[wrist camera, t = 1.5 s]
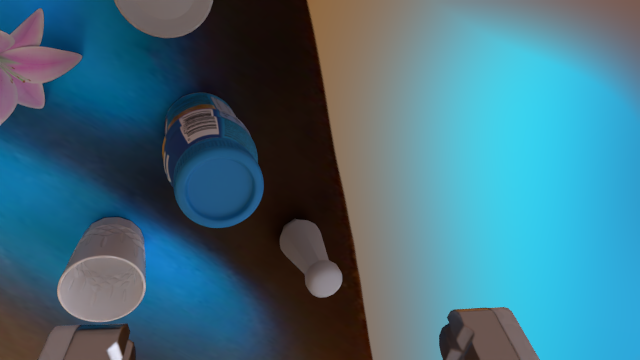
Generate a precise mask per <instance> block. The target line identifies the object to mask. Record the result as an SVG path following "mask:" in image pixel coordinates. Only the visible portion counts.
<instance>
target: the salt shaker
mask: <svg viewBox="0 0 640 360" xmlns="http://www.w3.org/2000/svg"><path fill="white" fill-rule="evenodd" d="M280 248H281V250H282V251H283V253H284V254H285V255H286V256H287V257H288V258H289V259H290V260H291V261H292V262H293V263H294V264H295V265H296V266H297V267H298V268H299V269H300V270H301V271H302V272H303V273H304V274H305V284H306V286H307V288H308V289H309V291H310V292H311V293H312V294H313V295H314V296H317V297H328V296H330V295H332V294H334V293H335V292H336V291H337V290H338V289H339V287H340V285H341V283H342V274H341V271H340V270H339V268H338V266H337V265H336V264H335V263H333V262H331V261H329V260H328V257H327V253H326V250H325V246H324V243H323V240H322V236H321V233H320V231H319V229H318V227H317V226H316V225H315V224H314V223H312V222H310V221H308V220H298V219H294V220H292V221H291V222H289V223H288V224H286V225H284V227H283V231H282V233H281V236H280Z"/></svg>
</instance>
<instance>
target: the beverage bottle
mask: <svg viewBox="0 0 640 360" xmlns="http://www.w3.org/2000/svg"><path fill="white" fill-rule="evenodd" d="M164 129H165V138H164V141H163V147H162V155H163V161H164V169H165V173H166V176H167V178H168V180H169V182H170V184H171V185H172V186H173V188H174V195H175V199H176V202H177V203H178V206H179V207H180V209H181V210H182V211H183V213H184V214H185V215H186V216H187V217H188V218H189V219H191V220H192V221H194V222H195V223H197V224H200V225H202V226H206V227H211V228H224V227H229V226H233V225H235V224H238V223H240V222H242V221H243V220H245V219H246V218H248V217H249V216H250V215H251V214H252V213H253V212H254V211H255V209H256V208H257V206H258V205H259V203H260V201H261V198H262V195H263V189H264V182H263V175H262V172H261V169H260V167H259V165H258V155H257V150H256V146H255V144H254V142H253V140H252V138H251V136H250V134H249V132H248V130H247V128H246V127H245V126H244V124H243V123H242V122H241V121H240V120H239V119H238V118H237V117H236V116H235V114H234V112H233V111H232V109H231V108H230V107H229V105H228V104H227V103H226V102H225V101H223V100H222V99H220V98H219V97H217V96H215V95H212V94H208V93H192V94H188V95H186V96H183V97H181V98H180V99H178V100H177V101H176V102H175V103H174V104H173V105H172V106H171V107H170V109H169V111H168V113H167V115H166V118H165V125H164Z"/></svg>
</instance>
